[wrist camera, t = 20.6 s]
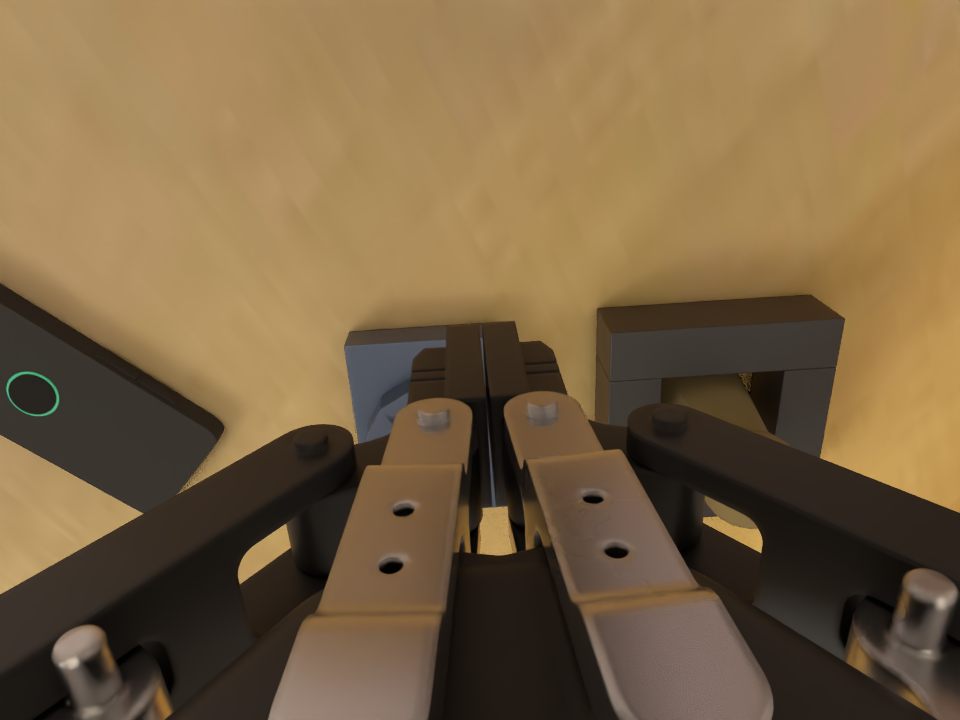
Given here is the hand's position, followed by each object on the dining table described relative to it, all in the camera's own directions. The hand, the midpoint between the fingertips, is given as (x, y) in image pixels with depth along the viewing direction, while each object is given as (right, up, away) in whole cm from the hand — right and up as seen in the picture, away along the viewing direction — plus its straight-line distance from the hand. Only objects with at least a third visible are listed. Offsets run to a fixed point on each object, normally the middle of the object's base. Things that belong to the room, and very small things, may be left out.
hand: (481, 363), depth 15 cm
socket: (+14, -2, +29) cm, 32 cm away
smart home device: (-26, -1, +27) cm, 38 cm away
